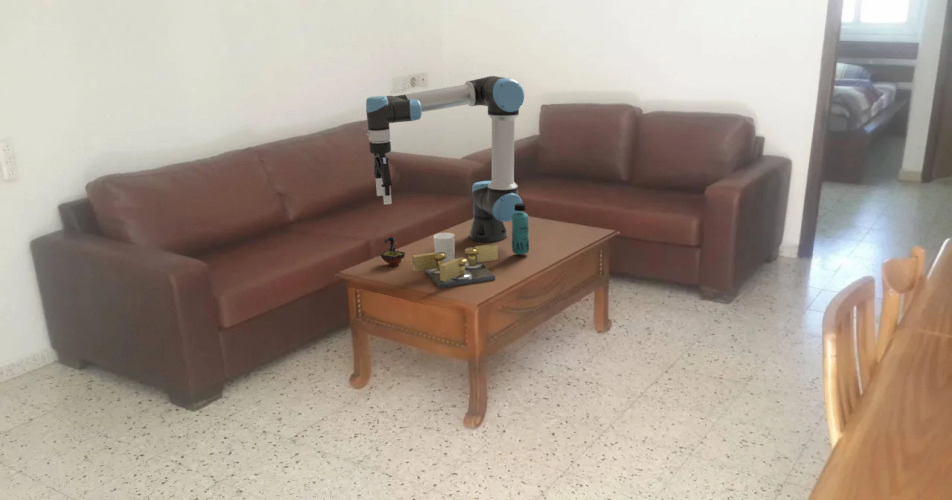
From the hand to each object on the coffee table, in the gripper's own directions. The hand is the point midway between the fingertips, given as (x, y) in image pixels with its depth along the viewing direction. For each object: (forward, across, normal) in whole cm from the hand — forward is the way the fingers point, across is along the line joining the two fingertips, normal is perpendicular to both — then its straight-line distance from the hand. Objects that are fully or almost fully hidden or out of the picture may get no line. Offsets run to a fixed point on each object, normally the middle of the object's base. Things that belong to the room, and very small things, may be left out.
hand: (384, 199), depth 285 cm
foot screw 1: (+23, +17, +12) cm, 31 cm away
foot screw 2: (+23, +28, +17) cm, 40 cm away
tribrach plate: (+25, +21, +21) cm, 39 cm away
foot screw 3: (+23, +17, +31) cm, 42 cm away
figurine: (+26, 0, +2) cm, 26 cm away
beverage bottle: (+26, +8, +49) cm, 56 cm away
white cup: (+26, +3, +21) cm, 33 cm away
